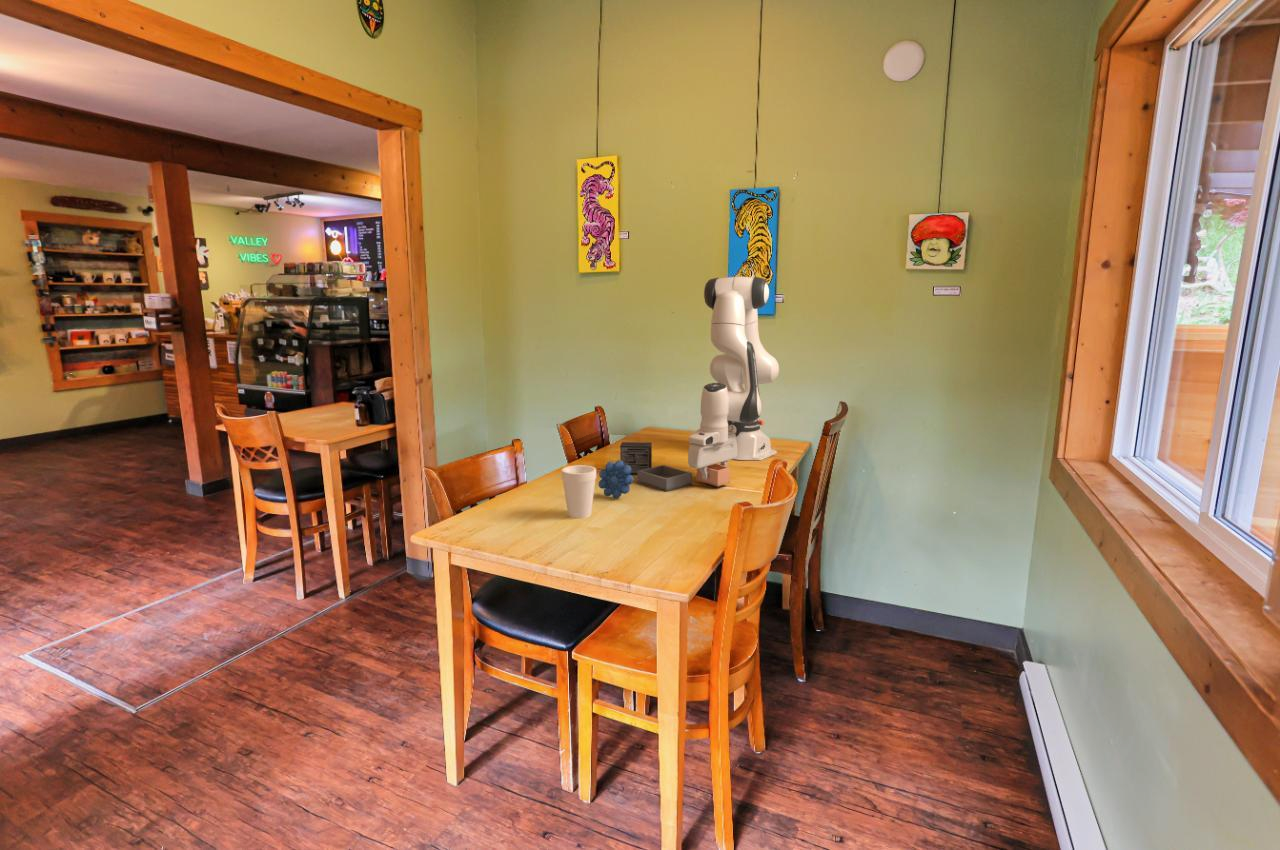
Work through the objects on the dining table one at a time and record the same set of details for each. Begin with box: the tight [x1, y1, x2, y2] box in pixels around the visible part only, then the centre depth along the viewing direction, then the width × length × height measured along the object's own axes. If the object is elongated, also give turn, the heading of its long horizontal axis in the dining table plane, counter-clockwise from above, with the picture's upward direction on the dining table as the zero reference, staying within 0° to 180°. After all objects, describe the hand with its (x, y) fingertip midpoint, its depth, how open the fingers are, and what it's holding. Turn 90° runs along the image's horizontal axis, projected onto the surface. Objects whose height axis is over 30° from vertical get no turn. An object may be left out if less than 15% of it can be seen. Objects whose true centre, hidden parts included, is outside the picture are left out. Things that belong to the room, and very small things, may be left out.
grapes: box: [598, 459, 635, 499], centre depth 193 cm, size 12×7×12 cm, turn 66°
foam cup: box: [561, 464, 597, 519], centre depth 177 cm, size 10×9×13 cm
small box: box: [619, 441, 653, 476], centre depth 220 cm, size 11×6×10 cm, turn 84°
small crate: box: [696, 463, 731, 487], centre depth 206 cm, size 6×9×5 cm, turn 42°
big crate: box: [636, 464, 693, 493], centre depth 208 cm, size 12×14×4 cm
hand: (713, 476), depth 206 cm, fingers closed on small crate, 6 cm apart
